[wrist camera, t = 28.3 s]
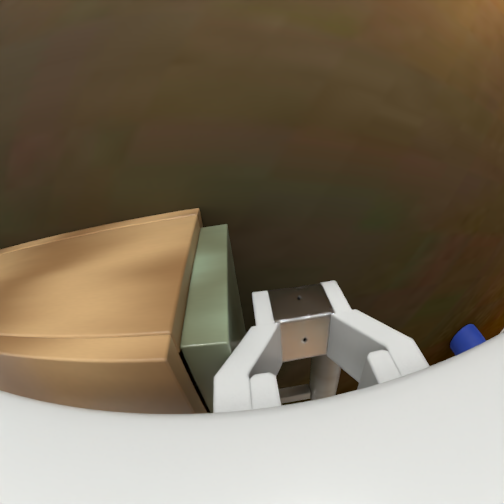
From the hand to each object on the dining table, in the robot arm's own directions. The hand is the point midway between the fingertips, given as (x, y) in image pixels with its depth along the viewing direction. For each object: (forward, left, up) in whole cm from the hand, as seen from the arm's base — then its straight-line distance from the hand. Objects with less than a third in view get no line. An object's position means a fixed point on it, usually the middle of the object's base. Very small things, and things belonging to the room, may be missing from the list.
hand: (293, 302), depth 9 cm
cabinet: (-4, +11, -5) cm, 13 cm away
